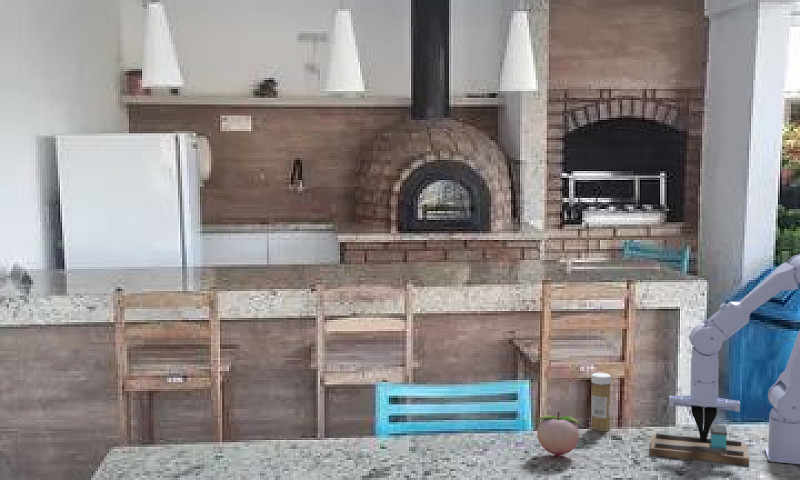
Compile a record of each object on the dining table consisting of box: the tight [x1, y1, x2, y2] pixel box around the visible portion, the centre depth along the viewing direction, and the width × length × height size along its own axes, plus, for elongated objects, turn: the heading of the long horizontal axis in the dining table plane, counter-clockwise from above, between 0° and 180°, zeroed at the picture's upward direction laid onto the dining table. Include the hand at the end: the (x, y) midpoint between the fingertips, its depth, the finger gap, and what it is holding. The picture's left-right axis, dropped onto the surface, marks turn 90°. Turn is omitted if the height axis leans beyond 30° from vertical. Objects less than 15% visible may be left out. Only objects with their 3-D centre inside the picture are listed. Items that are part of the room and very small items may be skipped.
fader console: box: [649, 432, 750, 466], centre depth 176 cm, size 20×10×2 cm, turn 71°
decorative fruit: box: [536, 411, 581, 457], centre depth 174 cm, size 9×8×10 cm
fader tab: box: [709, 423, 728, 449], centre depth 174 cm, size 3×5×4 cm, turn 161°
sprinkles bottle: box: [590, 372, 612, 432], centre depth 192 cm, size 5×5×14 cm
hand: (703, 439), depth 175 cm, fingers closed
